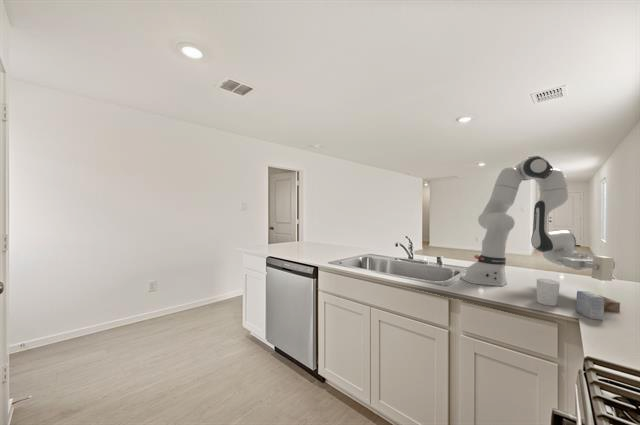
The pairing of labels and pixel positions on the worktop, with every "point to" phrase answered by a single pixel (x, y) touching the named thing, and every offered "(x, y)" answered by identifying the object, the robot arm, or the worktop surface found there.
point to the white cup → (547, 291)
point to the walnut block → (611, 305)
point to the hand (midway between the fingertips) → (604, 267)
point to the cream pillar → (603, 268)
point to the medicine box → (590, 305)
